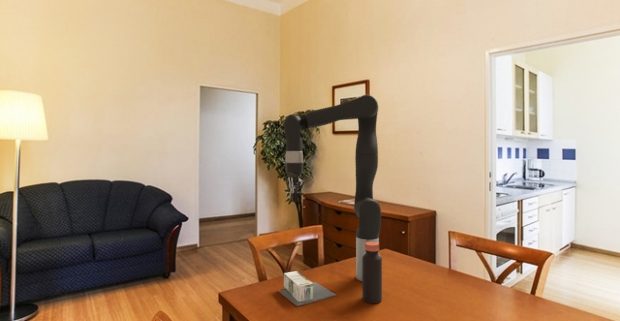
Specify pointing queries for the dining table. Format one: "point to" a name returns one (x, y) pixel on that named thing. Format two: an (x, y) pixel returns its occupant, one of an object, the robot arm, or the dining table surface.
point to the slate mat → (318, 294)
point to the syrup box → (298, 286)
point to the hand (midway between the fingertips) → (294, 201)
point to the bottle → (372, 273)
